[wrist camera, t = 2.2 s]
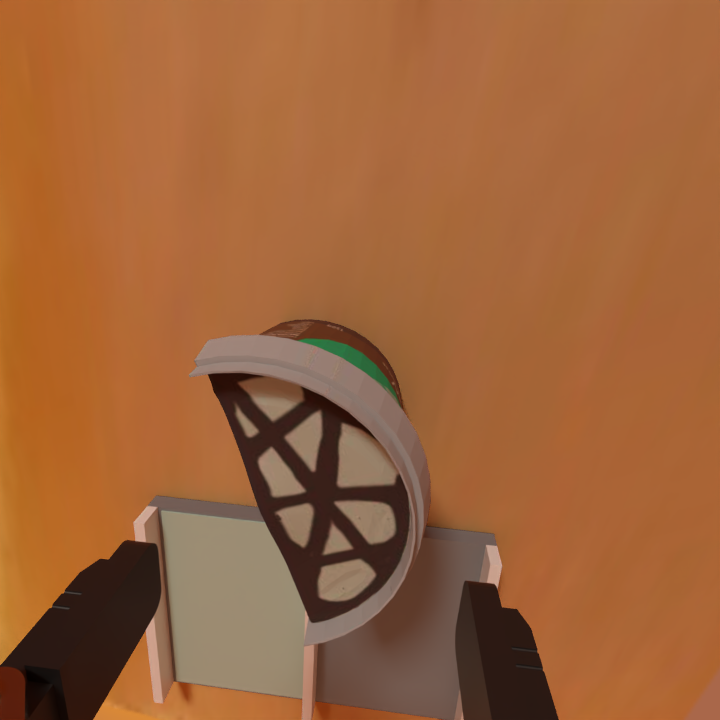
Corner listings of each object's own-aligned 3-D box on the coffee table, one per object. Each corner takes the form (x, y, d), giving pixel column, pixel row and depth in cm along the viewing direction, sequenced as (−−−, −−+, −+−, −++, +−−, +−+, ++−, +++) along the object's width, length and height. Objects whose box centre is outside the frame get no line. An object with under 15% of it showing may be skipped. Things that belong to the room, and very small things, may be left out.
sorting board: (494, 534, 27) (501, 565, 25) (461, 706, 32) (466, 747, 29) (156, 495, 29) (133, 522, 26) (172, 666, 33) (154, 702, 31)
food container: (448, 478, 26) (470, 635, 17) (342, 499, 28) (308, 657, 18) (388, 261, 23) (375, 306, 13) (270, 295, 24) (181, 359, 15)
